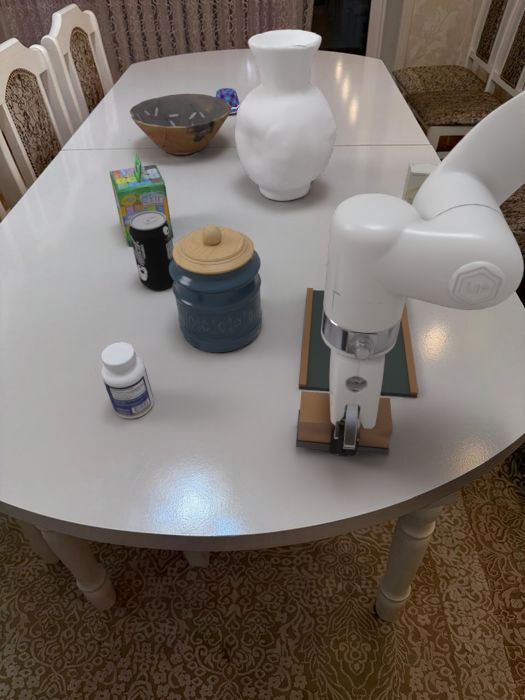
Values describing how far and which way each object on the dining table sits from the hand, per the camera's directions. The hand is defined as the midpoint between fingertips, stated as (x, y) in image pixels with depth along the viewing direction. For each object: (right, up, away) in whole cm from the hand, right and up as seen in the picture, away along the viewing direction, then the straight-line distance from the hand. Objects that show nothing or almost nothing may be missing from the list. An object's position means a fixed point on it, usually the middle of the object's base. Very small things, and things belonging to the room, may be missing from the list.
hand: (342, 432), depth 61 cm
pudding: (-21, +83, +90) cm, 124 cm away
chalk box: (-33, +34, +39) cm, 61 cm away
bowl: (-30, +63, +69) cm, 98 cm away
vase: (-5, +46, +50) cm, 68 cm away
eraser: (0, 0, 0) cm, 0 cm away
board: (+4, +12, +14) cm, 19 cm away
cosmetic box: (+20, +35, +38) cm, 55 cm away
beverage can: (-28, +22, +27) cm, 45 cm away
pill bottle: (-27, +3, +6) cm, 28 cm away
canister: (-16, +14, +17) cm, 28 cm away
